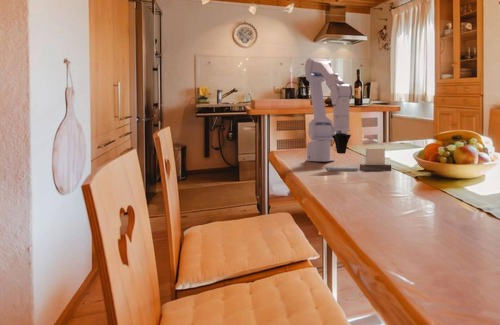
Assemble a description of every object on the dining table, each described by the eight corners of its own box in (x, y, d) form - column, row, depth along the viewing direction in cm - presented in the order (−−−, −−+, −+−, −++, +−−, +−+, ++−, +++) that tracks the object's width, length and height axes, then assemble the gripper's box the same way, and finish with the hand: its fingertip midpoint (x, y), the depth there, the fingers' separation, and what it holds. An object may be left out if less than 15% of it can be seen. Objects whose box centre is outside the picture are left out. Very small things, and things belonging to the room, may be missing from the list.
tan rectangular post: (365, 169, 124) (365, 148, 123) (381, 169, 124) (381, 148, 123) (368, 170, 121) (368, 148, 120) (384, 170, 121) (384, 148, 120)
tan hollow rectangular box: (359, 169, 126) (359, 164, 126) (385, 169, 125) (385, 163, 125) (363, 170, 120) (363, 165, 119) (391, 170, 119) (391, 164, 118)
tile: (329, 171, 119) (329, 168, 119) (325, 169, 129) (325, 166, 129) (357, 171, 118) (357, 168, 118) (352, 168, 128) (352, 166, 128)
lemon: (436, 170, 115) (436, 147, 115) (419, 170, 116) (419, 148, 116) (431, 169, 121) (431, 147, 120) (414, 169, 122) (415, 147, 121)
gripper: (327, 118, 130) (327, 153, 131) (333, 115, 115) (333, 154, 116) (346, 118, 129) (345, 152, 130) (353, 115, 115) (353, 153, 115)
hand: (341, 153), depth 123 cm, fingers open, 4 cm apart
